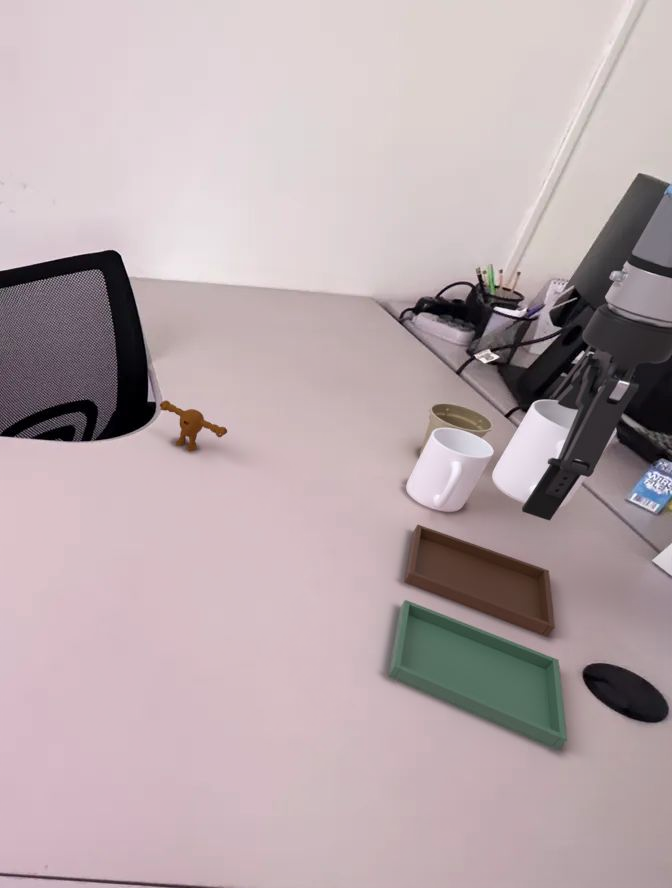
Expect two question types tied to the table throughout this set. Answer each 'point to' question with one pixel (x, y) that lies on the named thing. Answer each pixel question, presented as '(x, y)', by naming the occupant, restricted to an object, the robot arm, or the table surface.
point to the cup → (448, 469)
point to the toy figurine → (191, 425)
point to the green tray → (480, 673)
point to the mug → (535, 450)
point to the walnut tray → (481, 580)
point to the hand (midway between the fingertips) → (533, 488)
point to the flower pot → (456, 420)
